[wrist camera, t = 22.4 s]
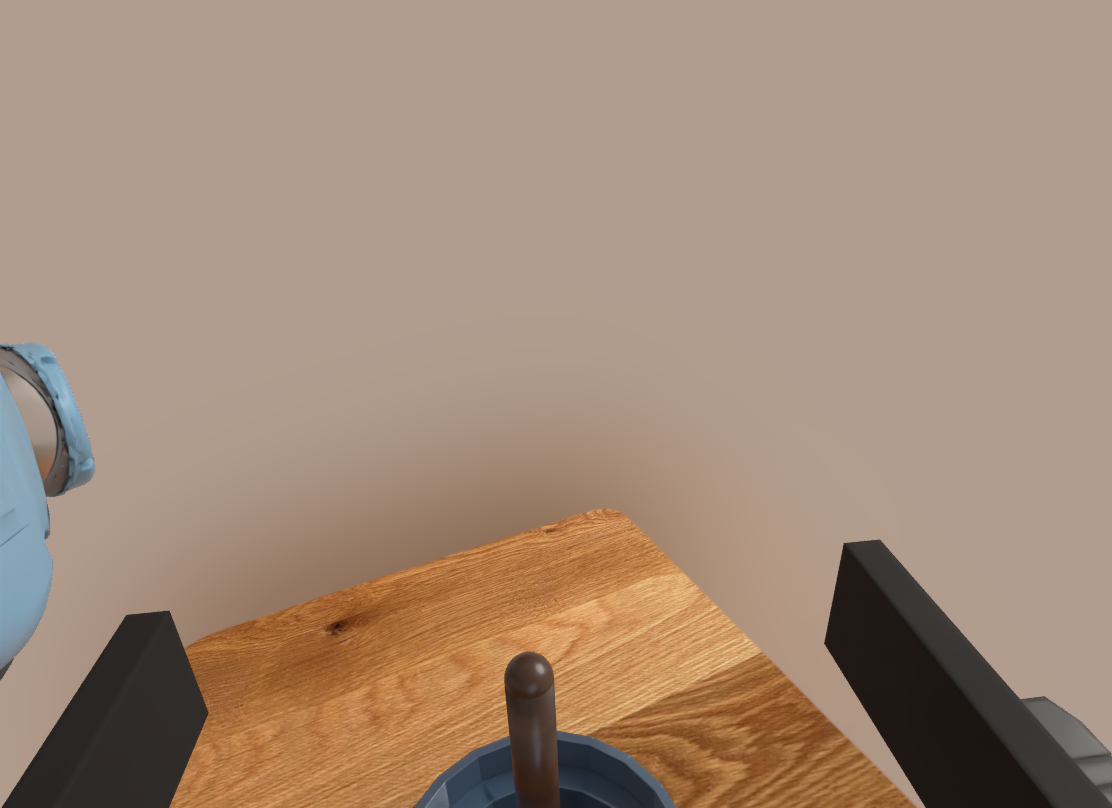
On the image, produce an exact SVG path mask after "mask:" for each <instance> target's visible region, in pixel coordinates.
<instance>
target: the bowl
mask: <svg viewBox="0 0 1112 808" xmlns="http://www.w3.org/2000/svg"><path fill="white" fill-rule="evenodd" d="M557 750H558V770H559V791H560V808H676V806H675V805H674V803H673V801H672V800H671V798H670V796H669V795H668V793H667V791H666V790H665V788H664V787H663V786H662V784H661V783H660V782H659V781H657V780H656V779H655V778H654V777H653V776H652V775H651V774H650V773H649V772H648V771H647V770H645V769H644V768H643V767H642V766H641V765H640V764H639V763H638V762H637V761H636V760H635V759H633V758H632V757H631V756H630V755H628V754H626V753H624V752H622V751H620V750H618V749H616V748H614V747H612V746H610V745H608V744H606V743H604V742H602V741H600V740H598V739H596V738H593V737H590V736H584V735H578V734H572V733H567V732H561V731H557ZM414 808H516V798H515V787H514V777H513V767H512V756H511V746H510V736H508V737H505V738H502V739H500V740H497V741H495V742H492V743H490V744H487V745H485V746H482V747H480V748H477V749H475V750H473V751H472V752H470V753H469V754H468V755H466V756H465V757H464V758H462V759H461V760H460V761H458V762H457V763H456V764H454V765H453V766H452V767H450V768H449V769H447V770H446V771H445V772H443V773H442V774H441V775H439V777H437V779H436V780H435V781H434V782H433V784H432V785H431V786H430V788H429V789H428V790H427V791H426V793H425V794H424V795H423V796H422V798H421V799H420V800H419V802H418V803H417V804H416V805H415V807H414Z"/></svg>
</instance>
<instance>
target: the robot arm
mask: <svg viewBox="0 0 1112 808" xmlns="http://www.w3.org/2000/svg"><path fill="white" fill-rule="evenodd" d="M94 473H95V463H94V458H93V456H92V451H91V445H90V441H89V438H88V435H87V432H86V428H85V425H84V423H83V420H82V417H81V414H80V411H79V409H78V406H77V403H76V401H75V398H74V396H73V393H72V391H71V388H70V386H69V383H68V381H67V379H66V377H65V375H64V373H63V371H62V369H61V368H60V366H59V365H58V362H57V359H56V357H55V355H54V354H53V353H52V351H51V350H50V349H49V348H47V347H46V346H44V345H42V344H38V343H25V344H18V345H9V344H2V345H0V669H2V668H3V667H4V666H5V665H7V664H8V663H9V662H10V661H11V660H12V659H13V658H14V657H15V656H16V655H17V654H18V653H19V652H20V651H21V650H22V648H23V647H24V646H25V644H26V643H27V642H28V640H29V639H30V638H31V636H32V635H33V633H34V631H35V630H36V628H37V626H38V624H39V622H40V620H41V618H42V615H43V613H44V610H45V607H46V604H47V600H48V596H49V592H50V588H51V581H52V570H53V560H52V558H51V555H50V553H49V551H48V549H47V547H46V543H45V539H47V538H48V536H49V535H50V517H49V510H48V505H47V500H46V497H47V496H48V497H55V496H59V495H63V494H65V492H66V491H68V490H71V489H73V488H76V487H79V486H81V485H84V484H86V483H87V482H88V481H90V480H91V478H92V477H93V475H94ZM824 644H825V645H826V647H827V649H828V650H829V652H830V653H831V655H832V656H833V658H834V660H835V662H836V663H837V665H838V667H839V668H840V670H841V671H842V673H843V674H844V676H845V678H846V679H847V681H848V682H849V684H850V686H851V688H852V689H853V691H854V692H855V694H856V696H857V697H858V699H859V700H860V702H861V704H862V705H863V707H864V709H865V710H866V712H867V713H868V715H869V717H870V718H871V720H872V721H873V723H874V725H875V726H876V728H877V730H878V731H879V733H880V734H881V736H882V738H883V739H884V741H885V743H886V744H887V746H888V747H889V749H890V751H891V752H892V754H893V755H894V757H895V759H896V760H897V762H898V764H899V765H900V767H901V768H902V770H903V772H904V773H905V775H906V777H907V778H908V780H909V781H910V783H911V784H912V786H913V788H914V789H915V791H916V793H917V794H918V796H919V798H920V799H921V801H922V802H923V804H924V806H925V807H926V808H1112V756H1111V753H1110V752H1109V751H1108V749H1107V748H1106V747H1105V746H1104V745H1103V744H1102V743H1101V742H1100V741H1099V740H1098V739H1097V738H1096V737H1095V736H1094V735H1093V734H1092V732H1090V730H1089V729H1088V728H1087V727H1086V726H1085V725H1084V724H1083V723H1082V722H1081V721H1080V720H1078V719H1077V718H1075V717H1074V716H1072V715H1071V714H1069V713H1068V712H1067V711H1065V710H1064V709H1062V708H1061V707H1059V706H1058V705H1056V704H1055V703H1053V702H1052V701H1050V700H1049V699H1048V698H1046V697H1035V698H1028V699H1019V698H1018V696H1017V695H1016V694H1015V693H1014V692H1013V691H1012V690H1011V688H1010V687H1009V686H1008V685H1007V684H1006V683H1005V682H1004V680H1002V678H1001V677H1000V676H999V675H998V674H997V673H996V671H995V670H994V669H993V668H992V667H991V666H990V665H989V663H988V662H987V661H986V660H985V659H984V658H983V657H982V655H981V654H980V653H979V652H978V651H977V650H976V649H975V647H974V646H973V645H972V644H971V643H970V642H969V641H968V640H967V638H966V637H965V636H964V635H963V634H962V633H961V632H960V630H959V629H958V628H957V627H956V626H955V625H954V624H953V622H952V621H951V620H950V619H949V618H948V617H947V616H946V614H945V613H944V612H943V611H942V610H941V609H940V608H939V606H938V605H937V604H936V603H935V602H934V601H933V600H932V599H931V598H930V596H929V595H928V594H927V593H926V592H925V590H924V589H923V588H922V587H921V586H920V585H919V584H918V583H917V581H916V580H915V579H914V578H913V577H912V576H911V575H910V573H909V572H908V571H907V570H906V569H905V568H904V567H903V565H902V564H901V563H900V562H899V561H898V560H897V559H896V557H895V556H894V555H893V554H892V553H891V552H890V551H889V549H888V548H887V547H886V546H885V545H884V544H883V543H882V541H881V540H871V541H862V542H852V543H844V545H843V550H842V556H841V560H840V566H839V571H838V576H837V581H836V586H835V591H834V597H833V602H832V607H831V612H830V617H829V622H828V627H827V632H826V638H825V642H824ZM207 716H208V710H207V708H206V705H205V702H204V700H203V697H202V694H201V692H200V689H199V687H198V684H197V681H196V679H195V676H194V674H193V671H192V668H191V666H190V663H189V660H188V658H187V655H186V653H185V650H184V647H183V645H182V642H181V640H180V637H179V634H178V632H177V629H176V627H175V624H174V621H173V619H172V616H171V613H170V611H163V612H152V613H141V614H132V615H126V617H125V618H124V620H123V621H122V623H121V624H120V626H119V627H118V629H117V631H116V632H115V634H114V635H113V637H112V638H111V640H110V641H109V643H108V644H107V646H106V647H105V649H104V650H103V652H102V654H101V655H100V657H99V658H98V660H97V661H96V663H95V664H94V666H93V667H92V669H91V671H90V672H89V674H88V675H87V677H86V678H85V680H84V681H83V683H82V684H81V686H80V688H79V689H78V691H77V692H76V694H75V695H74V697H73V698H72V700H71V701H70V703H69V705H68V706H67V708H66V709H65V711H64V712H63V714H62V715H61V717H60V719H59V720H58V722H57V723H56V725H55V726H54V728H53V729H52V731H51V732H50V734H49V736H48V737H47V738H46V740H45V742H44V743H43V745H42V746H41V748H40V749H39V751H38V753H37V754H36V756H35V757H34V758H33V760H32V762H31V763H30V765H29V766H28V768H27V769H26V771H25V772H24V774H23V776H22V777H21V779H20V780H19V782H18V783H17V785H16V786H15V788H14V789H13V791H12V792H11V794H10V796H9V797H8V799H7V800H6V802H5V803H4V805H3V806H2V808H169V806H170V804H171V801H172V799H173V797H174V794H175V792H176V790H177V787H178V785H179V782H180V780H181V778H182V775H183V773H184V770H185V768H186V766H187V763H188V761H189V758H190V756H191V754H192V751H193V749H194V747H195V744H196V742H197V739H198V737H199V735H200V732H201V730H202V727H203V725H204V723H205V720H206V718H207Z"/></svg>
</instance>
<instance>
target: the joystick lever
mask: <svg viewBox="0 0 1112 808" xmlns="http://www.w3.org/2000/svg"><path fill="white" fill-rule="evenodd" d="M504 683H505V693H506V704H507V714H508V725H509V735H510V746H511V756H512V767H513V777H514V787H515V798H516V808H560V791H559V770H558V750H557V730H556V710H555V690H554V674H553V670H552V667H551V665H550V663H549V662H548V660H547V659H546V658H545V657H543V656H542V655H540V654H538V653H535V652H524V653H521V654H519V655H517V656H515V657H514V658H513V659H512V660H511V661H510V663H509V664H508V666H507V668H506V671H505V676H504Z"/></svg>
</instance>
